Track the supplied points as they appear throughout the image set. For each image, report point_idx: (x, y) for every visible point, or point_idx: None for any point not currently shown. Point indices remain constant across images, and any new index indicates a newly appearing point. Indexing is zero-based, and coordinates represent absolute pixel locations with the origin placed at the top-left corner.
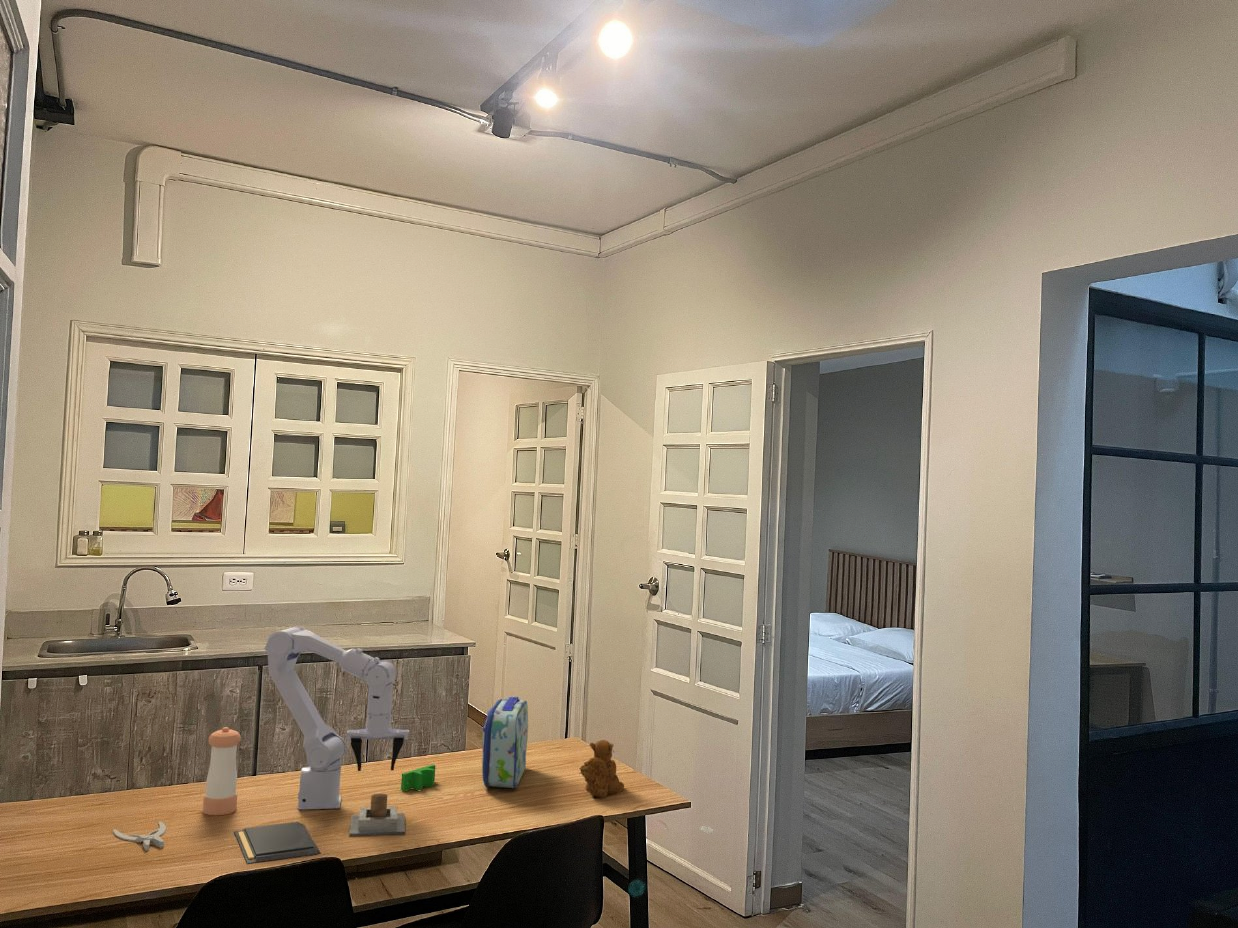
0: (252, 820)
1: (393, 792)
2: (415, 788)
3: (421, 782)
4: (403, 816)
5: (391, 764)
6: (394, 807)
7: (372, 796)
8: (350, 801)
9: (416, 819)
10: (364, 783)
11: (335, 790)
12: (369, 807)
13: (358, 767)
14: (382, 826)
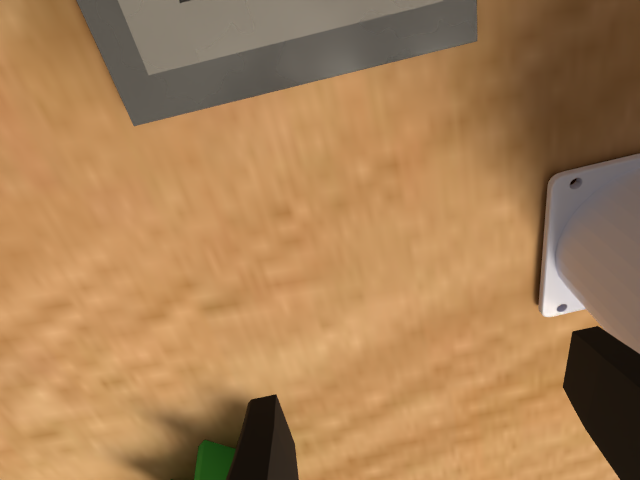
0: None
1: (310, 406)
2: (226, 450)
3: (195, 477)
4: (109, 56)
5: (268, 445)
6: (159, 46)
7: None
8: (490, 283)
9: (17, 57)
10: (446, 456)
11: (630, 250)
12: (365, 15)
13: (621, 347)
14: None
